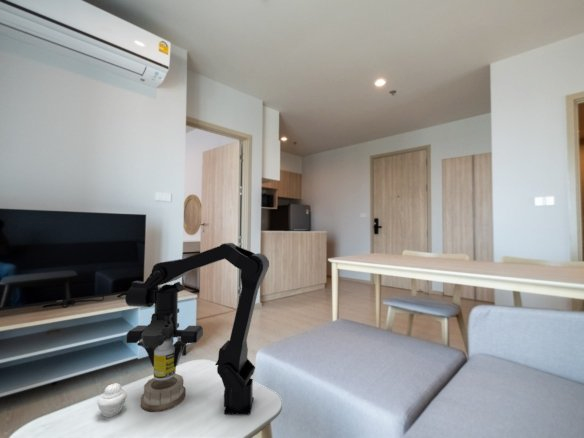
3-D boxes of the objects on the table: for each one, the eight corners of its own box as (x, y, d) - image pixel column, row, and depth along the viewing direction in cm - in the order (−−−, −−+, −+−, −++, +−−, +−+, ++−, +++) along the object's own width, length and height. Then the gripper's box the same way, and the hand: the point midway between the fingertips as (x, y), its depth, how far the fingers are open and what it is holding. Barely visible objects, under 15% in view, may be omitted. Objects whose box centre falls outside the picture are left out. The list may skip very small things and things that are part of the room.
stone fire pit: (191, 387, 80) (192, 372, 80) (175, 412, 69) (175, 395, 69) (153, 387, 80) (154, 372, 80) (131, 411, 69) (131, 394, 69)
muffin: (93, 414, 68) (94, 384, 68) (121, 402, 73) (122, 375, 73) (101, 425, 64) (102, 394, 64) (130, 412, 69) (131, 383, 69)
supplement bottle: (166, 382, 71) (166, 343, 71) (148, 379, 72) (149, 342, 73) (180, 371, 76) (180, 335, 77) (163, 369, 78) (163, 334, 78)
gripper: (112, 316, 67) (110, 382, 66) (189, 316, 67) (187, 382, 66) (138, 304, 78) (137, 360, 78) (204, 304, 78) (203, 361, 77)
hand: (165, 366), depth 74 cm, fingers closed on supplement bottle, 5 cm apart
